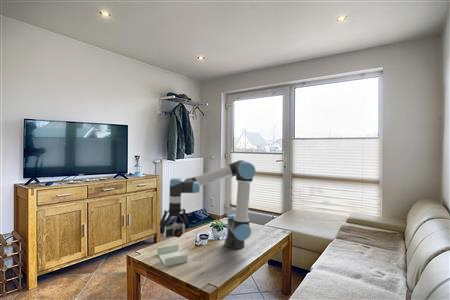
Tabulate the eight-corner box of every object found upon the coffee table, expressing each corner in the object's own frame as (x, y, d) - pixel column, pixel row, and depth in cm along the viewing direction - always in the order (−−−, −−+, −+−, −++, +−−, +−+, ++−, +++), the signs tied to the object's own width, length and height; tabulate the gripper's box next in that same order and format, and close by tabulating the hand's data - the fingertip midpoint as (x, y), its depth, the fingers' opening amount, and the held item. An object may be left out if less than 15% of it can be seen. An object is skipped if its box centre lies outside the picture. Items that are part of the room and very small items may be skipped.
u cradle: (177, 250, 169) (177, 243, 169) (187, 262, 153) (187, 254, 153) (157, 254, 162) (157, 247, 162) (165, 267, 146) (165, 258, 146)
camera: (169, 240, 150) (172, 226, 151) (162, 236, 156) (164, 222, 156) (185, 237, 160) (187, 224, 161) (178, 234, 165) (180, 221, 166)
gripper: (190, 199, 167) (189, 230, 167) (155, 202, 155) (154, 235, 155) (194, 201, 160) (193, 234, 161) (158, 205, 148) (157, 240, 148)
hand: (174, 235), depth 158 cm, fingers closed on camera, 12 cm apart
